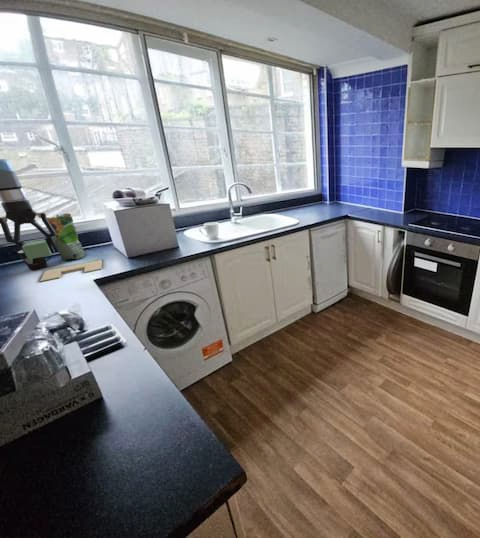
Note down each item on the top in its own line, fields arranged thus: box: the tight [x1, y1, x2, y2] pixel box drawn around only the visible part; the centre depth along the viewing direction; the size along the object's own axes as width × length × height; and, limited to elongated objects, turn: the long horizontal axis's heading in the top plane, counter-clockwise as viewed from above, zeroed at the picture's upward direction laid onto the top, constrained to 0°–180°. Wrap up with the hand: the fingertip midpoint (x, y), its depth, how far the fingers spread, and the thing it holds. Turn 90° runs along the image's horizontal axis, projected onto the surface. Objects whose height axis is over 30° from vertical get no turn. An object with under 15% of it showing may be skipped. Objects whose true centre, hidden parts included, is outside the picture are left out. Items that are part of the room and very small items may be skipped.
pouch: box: [46, 212, 87, 261], centre depth 161 cm, size 11×12×25 cm
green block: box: [22, 239, 53, 259], centre depth 124 cm, size 7×7×6 cm
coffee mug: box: [17, 250, 53, 271], centre depth 151 cm, size 12×9×10 cm
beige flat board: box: [39, 259, 103, 283], centre depth 147 cm, size 22×16×1 cm
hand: (41, 254), depth 125 cm, fingers closed on green block, 7 cm apart
